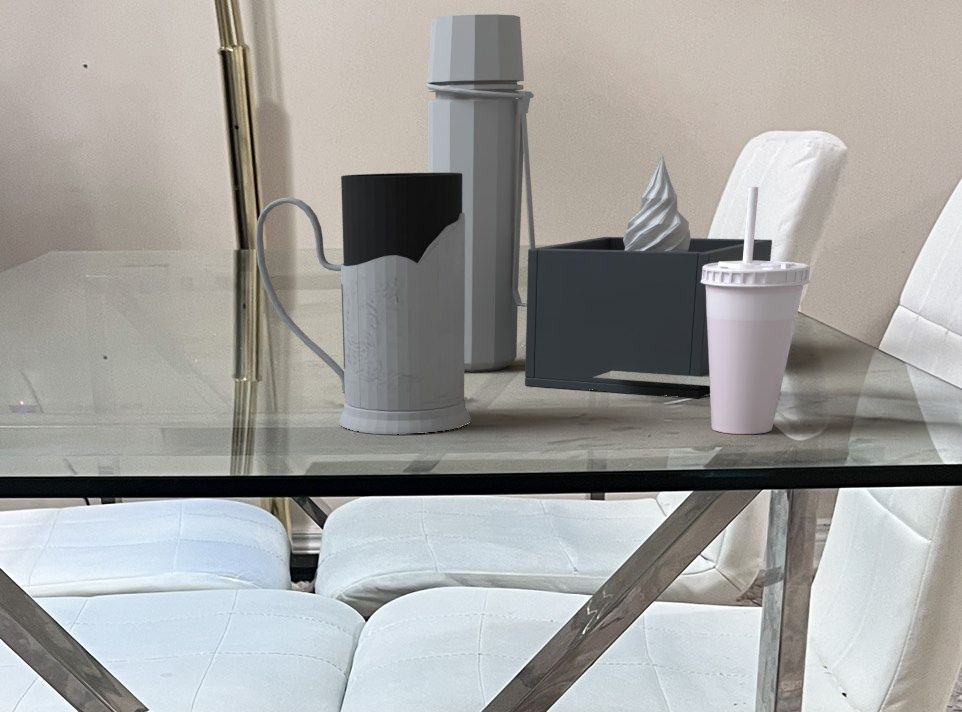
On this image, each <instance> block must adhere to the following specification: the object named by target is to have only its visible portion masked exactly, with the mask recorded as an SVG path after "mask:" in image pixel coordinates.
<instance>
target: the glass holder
mask: <svg viewBox="0 0 962 712" xmlns="http://www.w3.org/2000/svg"><path fill="white" fill-rule="evenodd" d="M340 182H341V183H340V184H341V185H340V186H341V187H340V188H341V189H340V190H341V218H342V219H341V220H342V253H343V254H342V256H343V257H342V258H343V263H341V264H333V263H330V262H328V260H327V259H326V256H325V250H324V236H323V231H322V225H321V224H320V221H319V217H318V215H317V214H316V212H315V211H314V210H313V209H312V207H311V206H310V205H309V204H307V203H306V202H304V200H301V199H299V198H295V197H280V198H278V199H276V200H273V201H271V202H269V203H268V204H267V205H266V206H265V207H264V208H263V209H262V210H261V212H260V214H259V217H258V219H257V221H256V224H255V240H254V241H255V249H256V250H255V251H256V252H255V253H256V261H257V266H258V269H259V274H260V277H261V280H262V284H263V287H264V289H265V291H266V294H267V296H268V298H269V301H270V302H271V304H272V307H273V308H274V310H275V312H276V314H277V315H278V318H279V319H280V321H282V322H283V324H285V326H286V327H287V328H288V329H289V330H290V332H292V333H293V334H294V335H295V336H296V337H297V338H298V339H299V340H300V341H301V342H302V343H303V344H304V345H305V346H306V347H308V348H309V349H310V350H311V351H312V352H313V353H314V354H315V355H316V356H317V357H319V358H320V359H321V360H322V362H324V363H325V364H326V365H327V366H329V368H331V369H332V371H334V373H335V374H336V375H337V376H338V378H339V379H340V384H341V392H342V393H343V394H344V404H343V411H342V413H341V415H340V417H339V419H338V425H339V424H340V425H342V426H343V427H345V428H347V429H346V430H348V429H350V430H349V431H352V430H353V431H352V432H357V431H359V432H358V433H364V434H373V435H374V434H375V435H397V434H399V435H404V434H403V433H418V432H424V433H425V432H435V433H437V432H436V431H443V432H445V431H444V430H449V429H454V428H457V427H460V426H462V425H465V424H467V423H469V422H470V421H471V422H472V418H471V415H470V413H469V411H468V409H467V406H466V400H465V372H464V337H465V214H464V213H462V173H428V172H395V173H394V172H392V173H391V172H390V173H389V172H388V173H361V174H345V175H341V176H340ZM283 204H291V205H293V206H297V207H298V208H299V209H300V210H302V211H303V212H304V214H305V215H306V216H307V217H308V219H309V220H310V223H311V226H312V229H313V234H314V239H315V240H314V241H315V252H316V257H317V259H318V262H319V264H320V265H321V266H322V267H323V268H324V269H326V270H329V271H334V272H340V276H341V277H340V282H341V283H340V284H341V315H342V345H343V346H342V349H343V350H342V351H343V353H342V354H343V368H342V367H341V366H340V365H339V364H338V363H337V362H336V361H335V360H334V359H333V358H332V357H331V356H330V355H329V354H327V352H326V351H324V349H322V348H321V347H320V346H319V345H318V344H316V343H315V342H314V341H313V340H312V339H311V338H310V337H309V336H308V335H307V334H305V332H303V330H302V329H301V328H300V327H299V326H298V325H297V324H296V323H295V322H294V320H293V319H292V318H291V317H290V316H289V314H288V313H287V311H286V310H285V308H284V306H283V305H282V303H281V302H280V299H279V298H278V295H277V293H276V291H275V289H274V286H273V284H272V282H271V278H270V275H269V272H268V268H267V263H266V258H265V250H264V240H263V239H264V224H265V222H266V219H267V217H268V214H269V213H270V212H271V211H272V210H274V208H276V207H279V206H281V205H283ZM340 425H339V426H340ZM343 427H342V428H343ZM345 428H344V429H345ZM454 430H455V429H454ZM449 431H450V430H449ZM425 434H426V433H425Z"/></svg>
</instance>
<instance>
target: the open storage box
mask: <svg viewBox="0 0 962 712" xmlns="http://www.w3.org/2000/svg"><path fill="white" fill-rule="evenodd" d="M623 238H624V236H602V237H595V238H589V239H588V238H587V239H583V240H575V241H570V242H565V243H557V244H551V245H545V246H539V247H535V248H532V249H529V248H528V250H527V280H526V281H527V285H526V286H527V287H526V301H527V306H526V325H525V327H526V328H525V330H526V331H525V362H524V363H525V367H524V368H525V370H524V371H525V372H524V386H526V387H539V388H551V389H563V390H577V391H590V390H592V389H593V390H600V391H599V392H603V391H606V392H605V393H619V394H630V395H644V396H656V395H657V396H658V397H665V396H664V395H667V396H666V397H669V396H678V397H677V398H683V397H687V398H686V399H697V400H698V399H701V398H703V397H705V396H708V395H710V385H705V384H693V383H677V382H676V383H675V382H664V381H651V380H650V381H648V380H637V379H636V380H634V379H620V378H619V379H618V378H607V377H598V376H602V375H604V374H607V373H609V372H625V373H637V374H650V375H651V374H653V375H667V376H668V375H669V376H680V377H681V376H682V377H697V378H701V377H703V376H706V375H709V352H708V329H707V309H706V284H703V283H701V280H702V267H703V266H704V265H706V264H711V263H719V261H743V252H744V240H745V238H702V237H701V238H700V237H699V238H697V237H696V238H695V237H694V238H693V237H690V238H691V240H690V244H689V249H688V252H676V251H630V250H625V245H624V242H623ZM772 246H773V240H772V239H759V238H758V239H755V238H754V246H753V257H752V261H772V260H771V259H772V248H773V247H772ZM586 389H587V390H586ZM589 389H590V390H589ZM662 395H663V396H662Z"/></svg>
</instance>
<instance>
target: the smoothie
mask: <svg viewBox="0 0 962 712" xmlns="http://www.w3.org/2000/svg"><path fill="white" fill-rule="evenodd" d="M758 198H759V186H748V192H747V205H746V206H747V207H746V217H745V229H744V239H745V240H744V252H743V261H719V263H711V264H706V265H704V266H703V267H702V280H701V283H703V284H706V309H707V329H708V352H709V374H708V375H709V386H710V394H709V396H710V397H709V399H710V419H711V421H710V422H711V429H712V430H713V431H716V432H719V433H725V434H733V435H755V434H756V435H757V434H765V433H768V432H772V431H773V426H774V422H775V416H776V413H777V408H778V403H779V400H780V395H781V390H782V385H783V381H784V377H785V372H786V367H787V362H788V358H789V355H790V354H789V353H790V349H791V345H792V339H793V335H794V330H795V327H796V321H797V317H798V312H799V308H800V303H801V299H802V294H803V289H804V285H808V284H809V283H810V282H811V281H810V271H811V270H810V269H811V266H810V265H809V264H807V263H802V262H793V261H778V260H777V261H774V260H770V261H752V257H753V246H754V239H755V233H756V221H757V210H758Z"/></svg>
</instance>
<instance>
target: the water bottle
mask: <svg viewBox="0 0 962 712" xmlns="http://www.w3.org/2000/svg"><path fill="white" fill-rule="evenodd" d="M430 26H431V27H430V37H429V49H428V50H429V52H428V63H427V75H426V86H425V87H426V92H428V93H435V99H433V100H431V101H429V102H427V173H462V213H464V214H465V337H464V373H465V372H467V373H468V372H470V373H474V372H475V373H477V372H491V371H496V370H497V371H498V370H502V369H504V368H506V367H508V366H509V365H512V364H513V362H514V361H515V359H517V355H518V354H517V351H518V313H519V311H518V309H519V308H518V307H521V308H522V307H523V308H524V307H525V308H526V307H527V300H526V302H523V301H522V299H521V295H520V291H519V274H520V252H521V250H520V249H521V229H522V228H521V227H522V225H521V224H522V203H523V202H522V201H523V199H522V198H523V176H524V183H525V184H524V187H525V202H526V203H525V204H526V216H527V217H526V219H527V229H528V231H527V232H528V250H529V249H532V248H536V237H535V235H536V234H535V223H534V207H533V193H532V179H531V178H532V177H531V164H530V163H531V162H530V151H529V150H530V149H529V135H528V122H527V114H529V113H528V112H529V108H530V102H531V99H534V97H535V95H534V93H533V92H532V91H528V90H524V87H525V86H524V84H518V82H524V81H525V74H524V58H523V56H524V55H523V42H522V25H521V16H519V15H515V14H500V13H499V14H498V13H497V14H492V13H491V14H459V15H447V16H437V17H434V18H431V25H430ZM523 173H524V175H523Z"/></svg>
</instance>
